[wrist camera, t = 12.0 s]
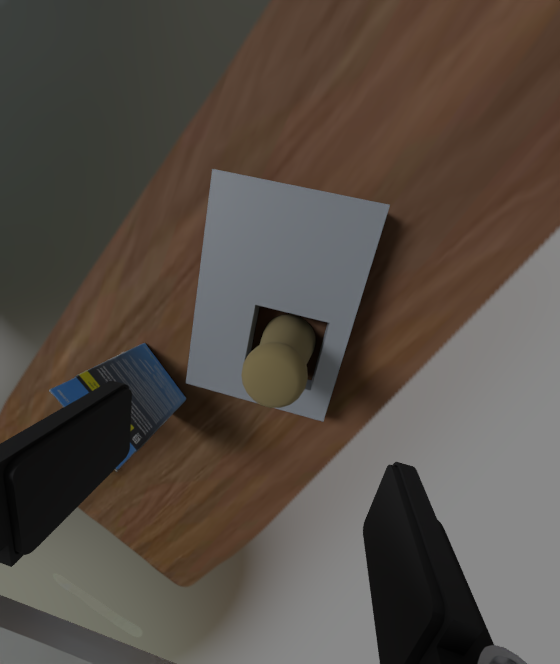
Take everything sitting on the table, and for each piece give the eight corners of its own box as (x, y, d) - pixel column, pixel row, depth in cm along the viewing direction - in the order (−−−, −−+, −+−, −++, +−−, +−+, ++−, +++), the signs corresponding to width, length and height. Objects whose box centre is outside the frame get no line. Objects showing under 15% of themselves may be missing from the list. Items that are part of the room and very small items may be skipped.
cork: (256, 320, 30) (220, 353, 19) (309, 308, 29) (301, 337, 18) (270, 370, 31) (243, 425, 21) (321, 360, 30) (320, 415, 19)
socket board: (383, 210, 25) (389, 204, 23) (323, 409, 31) (323, 421, 29) (222, 177, 26) (212, 168, 24) (195, 374, 33) (185, 383, 30)
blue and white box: (124, 356, 34) (19, 408, 22) (146, 341, 33) (47, 387, 21) (167, 411, 35) (88, 488, 23) (189, 398, 34) (118, 472, 22)
